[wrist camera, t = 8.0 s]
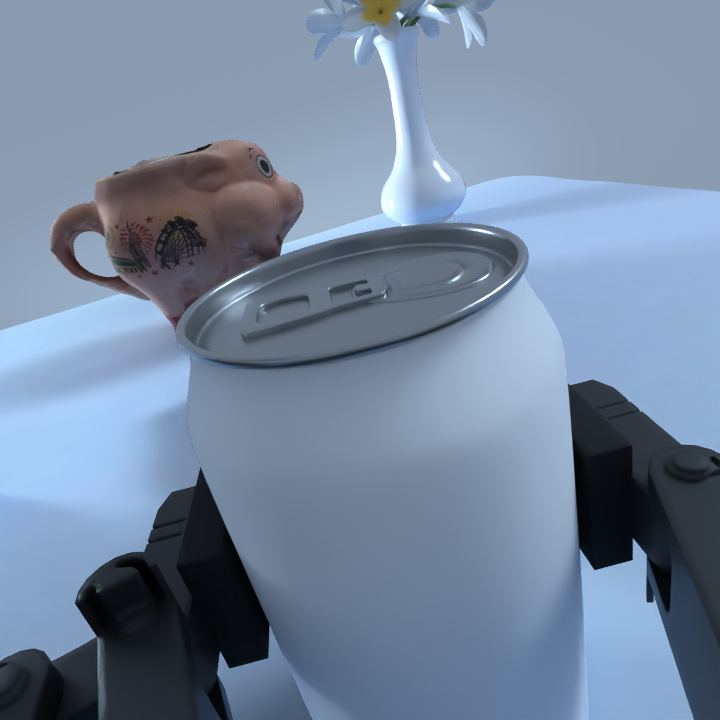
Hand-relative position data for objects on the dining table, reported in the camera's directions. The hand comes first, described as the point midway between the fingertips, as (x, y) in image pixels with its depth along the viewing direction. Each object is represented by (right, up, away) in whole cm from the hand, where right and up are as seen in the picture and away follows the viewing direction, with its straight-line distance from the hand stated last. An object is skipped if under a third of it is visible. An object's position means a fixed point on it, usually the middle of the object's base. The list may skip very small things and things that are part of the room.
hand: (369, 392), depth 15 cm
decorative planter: (-12, +4, +30) cm, 33 cm away
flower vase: (+8, +16, +45) cm, 48 cm away
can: (+2, -8, -1) cm, 9 cm away
